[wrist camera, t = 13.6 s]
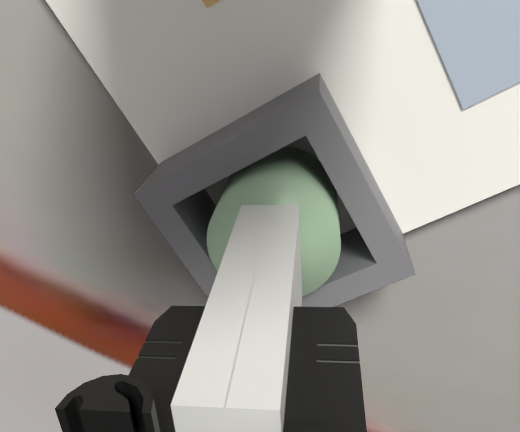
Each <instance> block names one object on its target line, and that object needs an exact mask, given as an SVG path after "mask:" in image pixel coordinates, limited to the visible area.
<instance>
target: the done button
mask: <svg viewBox="0 0 520 432" xmlns="http://www.w3.org/2000/svg"><path fill="white" fill-rule="evenodd" d="M241 205H300V232H301V268H302V296H305V295H307V294H309V293H311V292H313V291H315V290H316V289H318V288H319V287H320V286H321V285H323V284H324V283H325V282H326V281H327V280H328V278H329V277H330V276H331V274H332V273H333V272H334V270H335V268H336V266H337V263H338V260H339V257H340V251H341V238H340V224H339V211H338V197H337V191H336V189H335V187H334V185H333V184H332V182H331V180H330V178H329V176H328V175H327V173H326V171H325V169H324V167H323V166H322V164H321V162H320V161H319V160H318V159H317V158H315V157H314V156H312V155H311V154H309V153H307V152H305V151H302V150H299V149H296V148H292V147H283V148H281V149H279V150H277V151H275V152H273V153H271V154H269V155H267V156H265V157H264V158H262V159H260V160H258V161H256V162H254V163H252V164H250V165H248V166H246V167H245V168H243V169H241V170H239V171H237V172H235V173H233V174H231V176H230V178H229V180H228V182H227V184H226V187H225V189H224V191H223V193H222V195H221V198H220V200H219V202H218V204H217V206H216V208H215V211H214V213H213V215H212V217H211V219H210V222H209V225H208V230H207V249H208V253H209V256H210V259H211V261H212V263H213V265H214V267H215V269H216V270H217V272H218V270H219V267H220V264H221V261H222V258H223V256H224V253H225V250H226V247H227V244H228V241H229V239H230V236H231V233H232V230H233V227H234V224H235V222H236V219H237V216H238V213H239V210H240V208H241Z"/></svg>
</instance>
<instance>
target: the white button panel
mask: <svg viewBox="0 0 520 432" xmlns="http://www.w3.org/2000/svg"><path fill="white" fill-rule="evenodd" d="M46 2H47V3H48V5H49V6H50V8H51V9H52V10H53V12H54V13H55V15H56V16H57V18H58V19H59V21H60V22H61V24H62V25H63V26H64V28H65V29H66V31H67V32H68V34H69V35H70V37H71V38H72V40H73V41H74V42H75V44H76V45H77V47H78V48H79V50H80V51H81V53H82V54H83V56H84V57H85V59H86V60H87V61H88V63H89V64H90V66H91V67H92V69H93V70H94V72H95V73H96V75H97V76H98V77H99V79H100V80H101V82H102V83H103V85H104V86H105V88H106V89H107V91H108V92H109V93H110V95H111V96H112V98H113V99H114V101H115V102H116V104H117V105H118V107H119V108H120V109H121V111H122V112H123V114H124V115H125V117H126V118H127V120H128V121H129V123H130V124H131V125H132V127H133V128H134V130H135V131H136V133H137V134H138V136H139V137H140V139H141V140H142V142H143V143H144V144H145V146H146V147H147V149H148V150H149V152H150V153H151V155H152V156H153V158H154V159H155V160H156V162H157V163H158V166H157V167H156V168H155V169H154V171H153V172H152V173H151V174H150V175H149V176H148V178H147V179H146V180H145V181H144V182H143V183H142V184H141V186H140V187H139V188H138V189H137V190H136V191H135V192H134V194H133V195H134V197H135V198H136V199H137V201H138V202H139V204H140V205H141V206H142V208H143V209H144V210H145V212H146V213H147V215H148V216H149V217H150V219H151V220H152V221H153V223H154V224H155V226H156V227H157V228H158V230H159V231H160V233H161V234H162V235H163V237H164V238H165V239H166V241H167V242H168V244H169V245H170V246H171V248H172V249H173V250H174V252H175V253H176V255H177V256H178V257H179V259H180V260H181V262H182V263H183V264H184V266H185V267H186V268H187V270H188V271H189V273H190V274H191V275H192V277H193V278H194V279H195V281H196V282H197V284H198V285H199V286H200V288H201V289H202V291H203V292H204V293H205V295H206V296H207V297H208V298H209V295H210V292H211V289H212V287H213V284H214V281H215V278H216V275H217V270H216V269H215V267H214V265H213V263H212V261H211V259H210V256H209V253H208V249H207V230H208V225H209V222H210V219H211V217H212V215H213V213H214V211H215V208H216V206H217V204H218V202H219V200H220V198H221V195H222V193H223V191H224V189H225V187H226V184H227V182H228V180H229V178H230V176H231V174H233V173H235V172H237V171H239V170H241V169H243V168H245V167H246V166H248V165H250V164H252V163H254V162H256V161H258V160H260V159H262V158H264V157H265V156H267V155H269V154H271V153H273V152H275V151H277V150H279V149H281V148H283V147H292V148H296V149H299V150H302V151H305V152H307V153H309V154H311V155H312V156H314V157H315V158H317V159H318V160H319V161H320V162H321V164H322V166H323V167H324V169H325V171H326V173H327V175H328V176H329V178H330V180H331V182H332V184H333V185H334V187H335V189H336V191H337V197H338V211H339V224H340V238H341V251H340V257H339V260H338V263H337V266H336V268H335V270H334V272H333V273H332V274H331V276H330V277H329V278H328V280H327V281H326V282H325V283H324V284H323V285H321V286H320V287H319V288H318V289H316V290H315V291H313V292H311V293H309V294H307V295H305V296H302V306H301V307H334V306H337V305H339V304H342V303H344V302H347V301H349V300H352V299H354V298H357V297H360V296H362V295H365V294H367V293H370V292H372V291H375V290H377V289H380V288H382V287H385V286H387V285H390V284H393V283H395V282H398V281H400V280H403V279H405V278H408V277H410V276H413V275H415V271H414V268H413V265H412V262H411V259H410V255H409V252H408V249H407V246H406V243H405V240H404V237H403V234H404V233H406V232H408V231H411V230H413V229H415V228H418V227H420V226H422V225H425V224H427V223H429V222H432V221H434V220H437V219H439V218H441V217H444V216H446V215H448V214H451V213H453V212H455V211H458V210H460V209H462V208H465V207H467V206H470V205H472V204H474V203H477V202H479V201H481V200H484V199H486V198H488V197H491V196H493V195H495V194H498V193H500V192H503V191H505V190H507V189H510V188H512V187H514V186H517V185H519V184H520V0H46Z"/></svg>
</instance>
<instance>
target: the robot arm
mask: <svg viewBox="0 0 520 432" xmlns="http://www.w3.org/2000/svg"><path fill="white" fill-rule="evenodd" d="M301 306H302V268H301V232H300V205H241V208H240V210H239V213H238V216H237V219H236V222H235V224H234V227H233V230H232V233H231V236H230V239H229V241H228V244H227V247H226V250H225V253H224V256H223V258H222V261H221V264H220V267H219V270H218V272H217V275H216V278H215V281H214V284H213V287H212V289H211V292H210V295H209V298H208V301H207V304H206V306H171V307H170V308H169V309H168V310H167V311H166V312H165V313H164V314H162V315H161V316H160V317H159V318H158V319H157V320H156V321H155V322H154V324H153V326H152V328H151V330H150V332H149V334H148V336H147V338H146V343H144V345H143V347H142V349H141V351H140V353H139V357H138V359H136V361H135V363H134V365H133V367H132V369H131V371H130V374H129V375H128V376H127V375H122V374H119V375H109V376H102V377H99V378H96V379H94V380H91V381H89V382H85V383H83V384H82V385H81V386H79V387H77V388H76V389H75V390H73V391H71V392H70V393H68V394H67V395H66V396H65V398H64V399H63V400H62V401H61V402H60V403H59V405H58V406H57V407H56V408H55V410H56V413H57V416H58V419H59V422H60V425H61V428H62V431H63V432H367V430H366V420H365V410H364V400H363V390H362V380H361V370H360V362H359V361H360V360H359V350H358V340H357V330H356V324H355V322H354V321H353V319H352V318H351V317H350V315H349V314H348V313H347V311H346V310H345V309H344V307H301Z"/></svg>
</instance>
